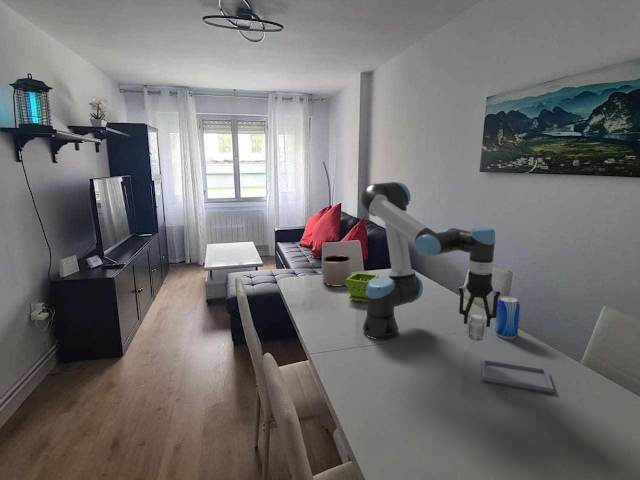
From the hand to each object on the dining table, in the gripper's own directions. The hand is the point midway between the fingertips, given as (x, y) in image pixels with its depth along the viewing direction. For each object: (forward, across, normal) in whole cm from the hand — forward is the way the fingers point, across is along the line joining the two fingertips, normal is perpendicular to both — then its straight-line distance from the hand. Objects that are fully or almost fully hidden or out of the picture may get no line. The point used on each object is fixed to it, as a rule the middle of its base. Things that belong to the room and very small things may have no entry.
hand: (475, 333), depth 129 cm
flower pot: (+13, -56, +48) cm, 74 cm away
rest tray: (+11, +12, -7) cm, 18 cm away
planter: (+13, -78, +70) cm, 106 cm away
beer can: (+11, +12, +25) cm, 30 cm away
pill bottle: (+2, 0, 0) cm, 2 cm away
